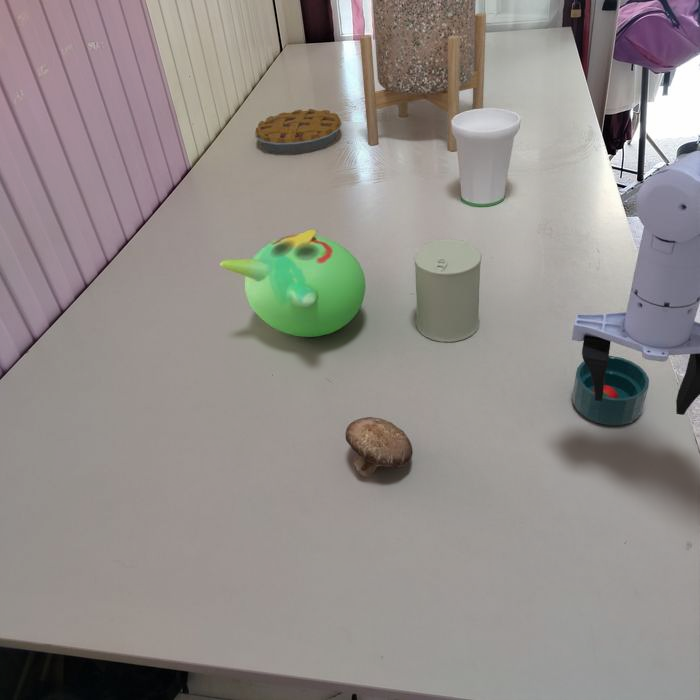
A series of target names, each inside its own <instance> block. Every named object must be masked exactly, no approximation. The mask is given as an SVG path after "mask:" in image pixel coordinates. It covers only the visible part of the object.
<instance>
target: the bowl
mask: <svg viewBox="0 0 700 700" xmlns="http://www.w3.org/2000/svg"><path fill="white" fill-rule="evenodd" d="M574 377H575V378H574V383H573V384H574V385H573V390H572V395H571V398H572V399H571V400H572V403H573V406H574V408H575V409H576V410H577V412H578V413H580V414H581V415H582V416H583V417H584V418H586V419H588V420H590V421H593V422H595V423H597V424H601V425H606V426H622V425H626V424H630V423H632V422H634V421H635V420H636V419H638V418H639V417H640V415H641V414H642V412H643V409H644V406H645V402H646V398H647V394H648V391H649V385H650V379H649V377H648V375H647V372H646V371H645V370H644V369H643V368H642V367H641V366H639V365H638V364H636V363H635V362H633V361H632V360H629V359H627V358H623V357H620V356H614V355H609V358H608V365H607V369H606V373H605V380H604V385H607V386H610V387H612V388H613V389H614V390H615V391H616V392H617V394H618V398H611V397H605V396H603V397H602V401H596V400H594V399H595V393H594V392H593V391H592V390H593V389H594V384H593V380H592V377H591V374H590V371H589V369H588V367H587V365H586V363H585V362H584V361H582V362H581V363H580V364H579V365H578V366H577V368H576V371H575V376H574Z"/></svg>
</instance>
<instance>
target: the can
mask: <svg viewBox="0 0 700 700" xmlns="http://www.w3.org/2000/svg"><path fill="white" fill-rule="evenodd" d="M413 260H414V261H413V262H414V272H415V292H416V293H415V295H416V297H415V298H416V319H415V320H416V322H415V325H416V329H417V330H418V332H419V333H420V334H421V335H422V336H423V337H425V338H426V339H429V340H431V341H435V342H440V343H455V342H461V341H464V340H466V339H468V338H470V337H473V335H475V333H477V331H478V329H479V327H480V318H479V316H480V312H479V311H480V310H479V309H480V283H481V281H480V279H481V263H482V252H481V251H480V249H479V248H478V246H476V245H474V244H473V243H470V242H468V241H466V240H465V241H464V240H460V239H439V240H434V241H431V242H428V243H425V244H423V245H422V246H420V247H419V248H418V249H417V250H415V254H414V256H413Z"/></svg>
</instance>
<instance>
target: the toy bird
mask: <svg viewBox="0 0 700 700" xmlns="http://www.w3.org/2000/svg"><path fill="white" fill-rule="evenodd" d="M219 264H220V267H222V268H223V269H225V270H227V271H230V272H232V273H235V274H238V275H240V276H243V277H244V290H245V297H246V299H247V301H248V304H249V306H250V308H251V309H252V310H253V311H254V313H255V314H256V315H257V316H258V318H259V319H260V320H262V321H263V322H264V323H266V324H267V325H268V326H271V327H272V328H273V329H275V330H277V331H279V332H281V333H284V334H287V335H290V336H294V337H295V336H296V337H304V338H313V337H321V336H325V335H330V334H333V333H334V332H336V331H338V330H340V329H342V328H343V327H345V326H346V325H347V324H349V323H350V322H351V321H353V319H354V318H355V317H356V315H357V314H358V312H359V310H360V309H361V307H362V305H363V303H364V302H363V301H364V298H365V294H366V277H365V273H364V270H363V268H362V267H361V264H360V262H359V261H358V259H357V258H356V257H355V256H354V254H353V253H351V252H350V251H349V250H348V249H347V248H346V247H344V246H343V245H342V244H340V243H339V242H336V241H334V240H332V239H330V238H328V237H324V236H322V235H317V229H315V228H313V229H309V230H306V231H304V232H303V231H302V232H301V233H298V234H290V235H285V236H281V237H279V238H277V239H274V240H272V241H270V242H269V243H267V244H265V245H264V246H263V247H262V248H260V249H259V250H258V252H257V253H255V255H254V256H253V258H235V259H225V260H222V261H220V263H219Z"/></svg>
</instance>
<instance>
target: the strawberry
mask: <svg viewBox="0 0 700 700" xmlns="http://www.w3.org/2000/svg"><path fill="white" fill-rule="evenodd" d="M592 391H593V392H594V393H595V390H594V389H593V390H592ZM603 396H605V397H611V398H618V394H617V392H616V391H615V390H614V389H613V388H612V387H610V386H607V385H604V389H603Z"/></svg>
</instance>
